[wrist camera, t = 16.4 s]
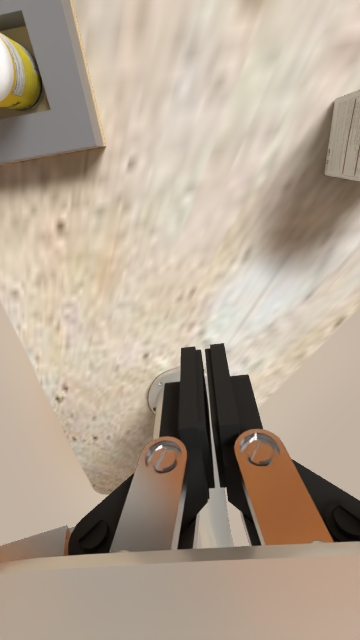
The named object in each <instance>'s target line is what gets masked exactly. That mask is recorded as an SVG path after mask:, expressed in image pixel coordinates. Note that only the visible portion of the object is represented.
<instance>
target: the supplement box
mask: <svg viewBox="0 0 360 640" xmlns="http://www.w3.org/2000/svg"><path fill="white" fill-rule="evenodd" d="M324 175H326V176H332V177H338V178H343V179H349V180H354V181H359V182H360V90H357V91H355V92H352V93H349V94H347V95H344V96H342V97H339V98H336V99H335V103H334V109H333V116H332V123H331V130H330V137H329V143H328V150H327V157H326V165H325V172H324Z"/></svg>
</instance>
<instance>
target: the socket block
mask: <svg viewBox="0 0 360 640" xmlns="http://www.w3.org/2000/svg"><path fill="white" fill-rule="evenodd" d="M0 33H2V34H3V35H5V36H6V37H8V38H10V39H11V40H13V41H15V42H16V43H18V44H20V45H21V46H23V47H24V48H25V49H27V50H28V51H29V52H30V53H31V54H32V55H33V57H34V58H35V59H36V61H37V64H38V68H39V71H40V75H41V78H42V82H43V85H44V90H43V95H42V98H41V100H40V102H39V103H38V105H37V106H35V107H34V108H33V109H30V110H27V111H17V110H12V109H7V108H2V107H0V165H2V164H8V163H13V162H19V161H25V160H30V159H36V158H42V157H47V156H53V155H59V154H64V153H70V152H76V151H81V150H87V149H93V148H98V147H104V146H106V144H105V139H104V135H103V131H102V126H101V122H100V118H99V113H98V109H97V105H96V100H95V96H94V92H93V87H92V83H91V79H90V74H89V70H88V66H87V61H86V57H85V53H84V48H83V44H82V40H81V35H80V31H79V27H78V22H77V18H76V14H75V9H74V5H73V1H72V0H0Z"/></svg>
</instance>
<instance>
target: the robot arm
mask: <svg viewBox="0 0 360 640" xmlns="http://www.w3.org/2000/svg"><path fill="white" fill-rule="evenodd" d="M205 354H206V366H207V372H206V371H204V369H203V361H202V354H201V350H196V349H195V347H186V348H181V368H175V369H172V370H169V371H167V372H164V373H163V374H161V375H160V376H158V377H157V378H156V379H155V381H154V382H153V383H152V385H151V387H150V390H149V396H148V401H149V405H150V408H151V410H152V412H153V413H154V414H155V415H156V416H155V424H154V432H153V440H152V441H151V442H150V443H148V444H147V445H146V446H145V448H144V449H143V451H142V453H141V455H140V458H139V461H138V464H137V467H136V470H135V473H134V474H132V475H131V476H130V477H129V478H128V479H127V480H126V481H124V482H123V483H122V484H121V485H120V486H119V487H118V488H117V489H115V490H114V491H113V492H112V493H111V494H110V495H109V496H107V497H106V498H105V499H104V500H103V501H102V502H101V503H100V504H98V505H97V506H96V507H95V508H94V509H93V510H92V511H90V512H89V513H88V514H87V515H86V516H85V517H84V518H83V519H82V520H81V521H80V522H79V523H78V524H77V525H76V526H75V527H72V528H68V527H67V526H63V527H60V528H57V529H54V530H50V531H47V532H44V533H40V534H37V535H34V536H31V537H28V538H24V539H21V540H18V541H15V542H11V543H9V544H5V545H2V546H0V640H360V501H359V500H358V499H356V498H354V497H353V496H351V495H349V494H348V493H346V492H344V491H343V490H341V489H339V488H338V487H336V486H335V485H333V484H332V483H330V482H328V481H327V480H325V479H323V478H322V477H320V476H318V475H316V474H315V473H314V472H312V471H310V470H309V469H307V468H305V467H304V466H302V465H301V464H299V463H297V462H296V461H294V460H292V459H291V458H290V456H289V454H288V452H287V450H286V448H285V446H284V444H283V443H282V441H281V440H280V438H279V437H277V436H276V435H275V434H273V433H271V432H269V431H267V430H263V427H262V423H261V420H260V416H259V412H258V408H257V405H256V401H255V397H254V393H253V390H252V386H251V382H250V379H249V376H248V375H239V376H230V374H229V369H228V363H227V358H226V353H225V347H224V343H222V344H213V345H210V349H205ZM225 487H227V495H228V501H229V502H230V503H232V504H233V505H234V506H235V507H236V508H238V509H239V510H240V513H241V518H242V521H243V525H244V528H245V532H246V535H247V539H248V542H249V546H243V547H234V545H233V540H232V535H231V530H230V524H229V518H228V511H227V504H226V495H225Z"/></svg>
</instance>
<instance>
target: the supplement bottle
mask: <svg viewBox="0 0 360 640" xmlns="http://www.w3.org/2000/svg"><path fill="white" fill-rule="evenodd" d="M43 90H44V85H43V82H42V78H41V75H40V71H39V68H38V64H37V61H36V59H35V58H34V57H33V55H32V54H31V53H30V52H29V51H28V50H27V49H25V48H24V47H23V46H21V45H20V44H18V43H16V42H15V41H13V40H11V39H10V38H8V37H6V36H5V35H3V34H2V33H0V107H2V108H7V109H12V110H17V111H27V110H30V109H33V108H34V107H35V106H37V105H38V103H39V102H40V100H41V98H42V95H43Z"/></svg>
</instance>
